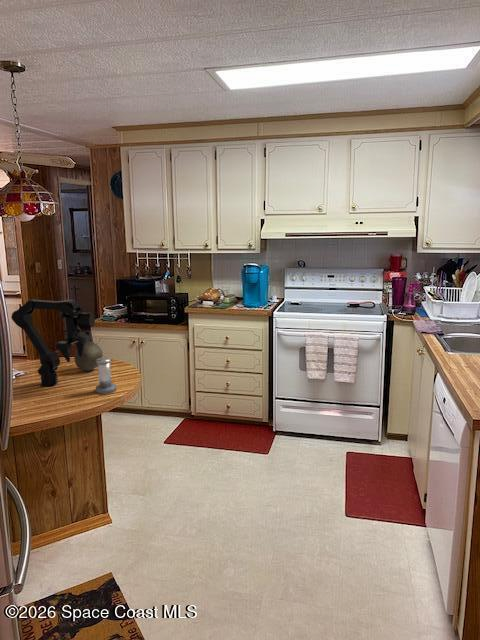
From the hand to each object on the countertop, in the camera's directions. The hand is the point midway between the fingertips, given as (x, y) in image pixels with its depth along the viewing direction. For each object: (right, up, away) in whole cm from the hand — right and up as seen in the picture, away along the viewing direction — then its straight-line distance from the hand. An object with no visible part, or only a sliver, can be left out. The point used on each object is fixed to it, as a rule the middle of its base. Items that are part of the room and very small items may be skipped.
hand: (74, 359), depth 220 cm
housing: (+16, -12, -5) cm, 21 cm away
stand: (+16, -14, -5) cm, 22 cm away
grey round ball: (-1, -8, +25) cm, 26 cm away
